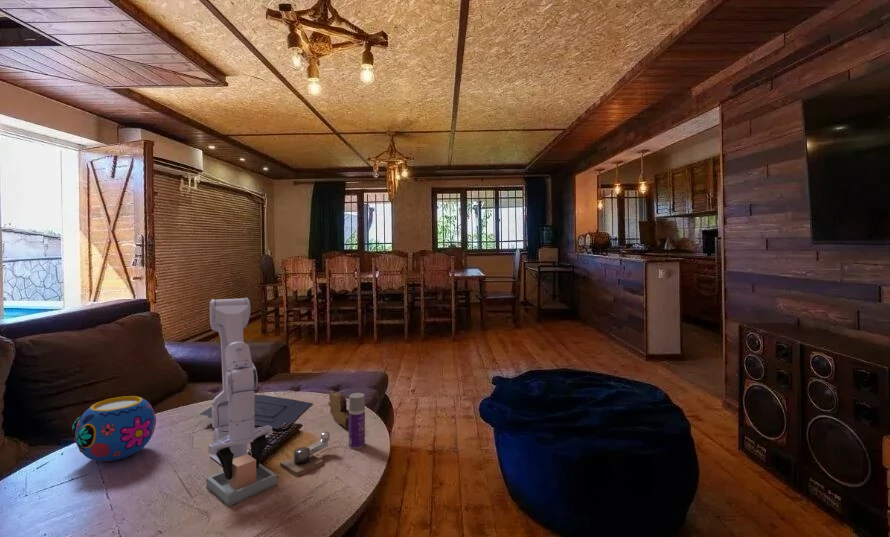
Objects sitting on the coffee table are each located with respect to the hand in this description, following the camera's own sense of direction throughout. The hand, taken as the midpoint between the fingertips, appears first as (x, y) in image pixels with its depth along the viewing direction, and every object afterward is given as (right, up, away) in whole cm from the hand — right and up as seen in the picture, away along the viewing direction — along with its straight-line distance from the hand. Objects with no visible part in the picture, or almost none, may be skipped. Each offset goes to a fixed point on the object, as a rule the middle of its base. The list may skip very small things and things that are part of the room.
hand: (242, 472), depth 102 cm
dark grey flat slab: (-16, -2, +44) cm, 47 cm away
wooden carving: (+14, -2, +38) cm, 41 cm away
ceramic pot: (-41, -3, +14) cm, 44 cm away
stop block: (0, -3, 0) cm, 3 cm away
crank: (+13, -2, +14) cm, 19 cm away
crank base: (+11, -3, +11) cm, 16 cm away
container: (+23, -3, +23) cm, 32 cm away
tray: (0, -3, 0) cm, 3 cm away
